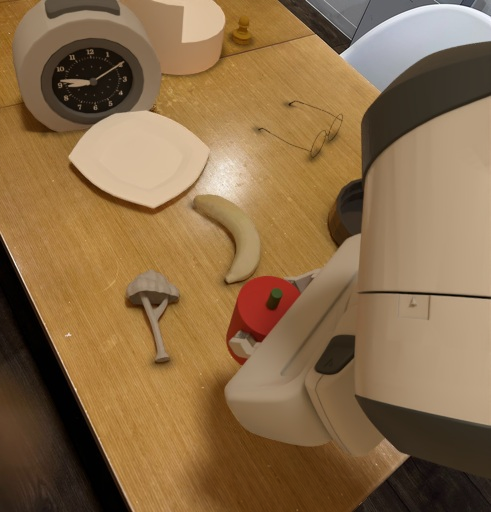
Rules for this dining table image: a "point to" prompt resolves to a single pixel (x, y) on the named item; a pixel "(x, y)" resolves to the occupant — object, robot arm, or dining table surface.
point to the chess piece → (242, 32)
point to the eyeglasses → (319, 133)
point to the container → (182, 32)
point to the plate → (140, 157)
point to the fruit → (234, 234)
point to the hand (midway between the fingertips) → (260, 314)
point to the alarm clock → (84, 62)
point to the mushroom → (153, 301)
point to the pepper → (260, 308)
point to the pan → (347, 212)
